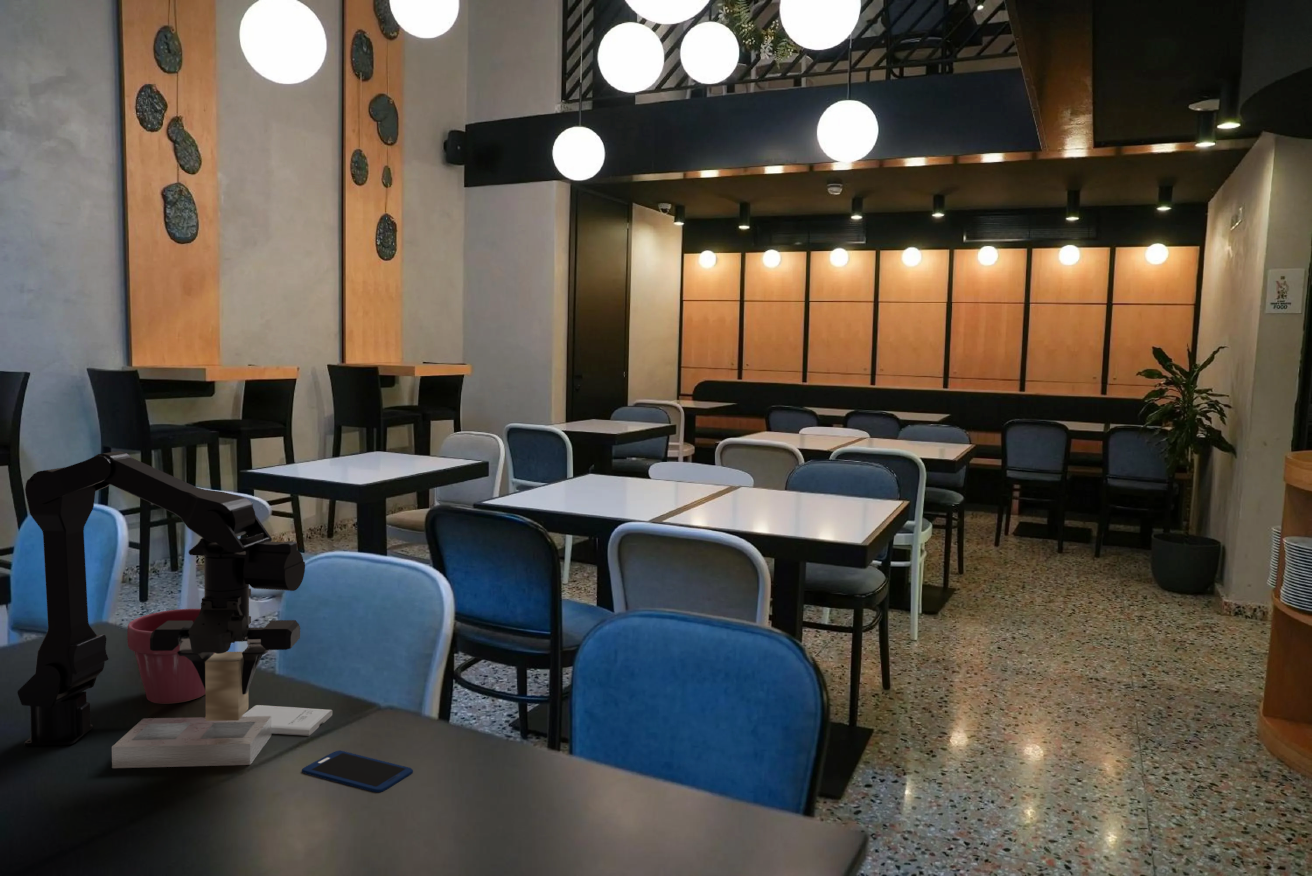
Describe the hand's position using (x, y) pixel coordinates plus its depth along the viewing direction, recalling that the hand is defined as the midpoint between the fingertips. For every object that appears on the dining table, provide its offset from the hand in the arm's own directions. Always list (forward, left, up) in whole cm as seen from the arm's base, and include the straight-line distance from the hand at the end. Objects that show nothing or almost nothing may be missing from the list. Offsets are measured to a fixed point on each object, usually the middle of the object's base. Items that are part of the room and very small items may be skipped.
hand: (227, 693), depth 131 cm
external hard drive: (+5, +10, -9) cm, 14 cm away
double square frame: (-4, 0, -8) cm, 9 cm away
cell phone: (+20, -8, -9) cm, 23 cm away
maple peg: (0, 0, -3) cm, 3 cm away
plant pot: (-15, +23, -9) cm, 29 cm away
